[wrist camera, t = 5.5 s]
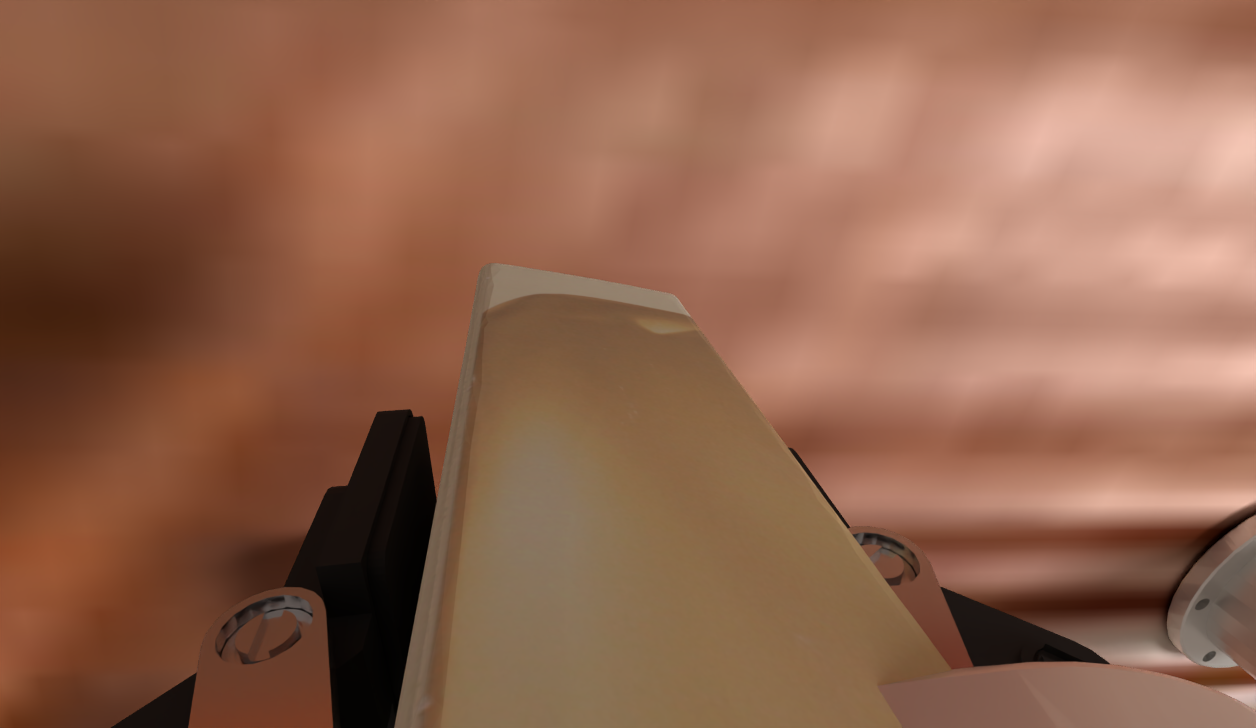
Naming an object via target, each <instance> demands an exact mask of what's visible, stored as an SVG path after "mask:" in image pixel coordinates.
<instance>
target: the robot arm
mask: <svg viewBox="0 0 1256 728" xmlns="http://www.w3.org/2000/svg"><path fill="white" fill-rule="evenodd" d="M788 449H789V450H790V452H791V453H792V454H793V456H794V457H795V458H796V460H797V461H798V462H799V464H800V465H801V467H802V468H803V469H804V471H805V472H806V473H807V475H808V476H809V477H810V479H811V480H812V482H813V483H814V484H815V486H816V487H817V488H818V490H819V491H820V492H821V494H822V495H823V497H824V498H825V499H826V501H827V502H828V503H829V505H830V506H831V507H832V509H833V510H834V511H835V513H836V514H837V515H838V517H839V518H840V519H841V521H842V522H843V523H844V525H845V526H846V527H847V529H848V530H849V531H850V533H851V534H852V535H853V537H854V538H855V539H856V541H857V542H858V543H859V545H860V546H861V547H862V549H863V550H864V552H865V553H866V554H867V556H868V557H869V559H870V560H871V561H872V563H873V564H874V565H875V567H876V568H877V570H878V571H879V572H880V574H881V575H882V576H883V578H884V579H885V580H886V582H887V583H888V585H889V586H890V587H891V589H892V590H893V591H894V593H895V594H896V595H897V597H898V598H899V599H900V601H901V602H902V603H903V605H904V606H905V607H906V609H907V610H908V611H909V612H910V614H911V615H912V616H913V618H914V619H915V620H916V622H917V623H918V624H919V626H920V627H921V628H922V630H923V631H924V632H925V634H926V635H927V637H928V638H929V639H930V641H931V642H932V643H933V645H934V646H935V647H936V649H937V650H938V651H939V653H940V654H941V656H942V657H943V658H944V660H945V661H946V662H947V664H948V665H949V666H950V668H951V669H952V670H950V671H946V672H940V673H936V674H931V675H926V676H921V677H916V678H911V679H907V680H902V681H898V682H893V683H889V684H884V685H879V686H877V687H878V688H879V690H880V692H881V693H882V695H883V696H884V698H885V700H886V701H887V703H888V705H889V706H890V708H891V710H892V711H893V713H894V714H895V716H896V717H897V719H898V720H899V722H900V723H901V725H902V727H903V728H1256V711H1255V710H1254V709H1252V708H1250V707H1249V706H1247V705H1245V704H1244V703H1242V702H1240V701H1238V700H1236V699H1234V698H1232V697H1230V696H1227V695H1225V694H1223V693H1221V692H1219V691H1217V690H1214V689H1211V688H1208V687H1205V686H1202V685H1199V684H1196V683H1194V682H1191V681H1187V680H1184V679H1180V678H1177V677H1173V676H1169V675H1166V674H1161V673H1156V672H1151V671H1146V670H1141V669H1135V668H1130V667H1125V666H1120V665H1110V664H1109V662H1107V661H1106V660H1104V659H1103V658H1102V657H1100V656H1099V655H1097V654H1096V653H1095V652H1093V651H1092V650H1090V649H1088V648H1086V647H1084V646H1082V645H1080V644H1078V643H1076V642H1074V641H1072V640H1070V639H1067V638H1065V637H1062V636H1060V635H1058V634H1055V633H1053V632H1050V631H1048V630H1045V629H1043V628H1040V627H1038V626H1036V625H1033V624H1031V623H1028V622H1026V621H1023V620H1021V619H1018V618H1016V617H1014V616H1011V615H1009V614H1006V613H1004V612H1001V611H999V610H996V609H994V608H991V607H989V606H987V605H984V604H982V603H979V602H977V601H974V600H972V599H969V598H967V597H965V596H962V595H960V594H957V593H955V592H952V591H950V590H947V589H945V588H943V587H940V586H939V583H938V581H937V578H936V576H935V574H934V571H933V569H932V566H931V564H930V562H929V560H928V559H927V557H926V556H925V554H924V552H923V551H922V550H921V549H919V548H918V547H917V546H916V545H915V544H914V543H913V542H911V541H910V540H908V539H906V538H904V537H903V536H901V535H899V534H897V533H894V532H891V531H888V530H886V529H882V528H876V527H870V526H855V527H851V528H850V527H849V525H848V524H847V522H846V521H845V520H844V518H843V517H842V515H841V514H840V513H839V511H838V510H837V508H836V507H835V506H834V504H833V503H832V501H831V500H830V499H829V497H828V496H827V494H826V493H825V492H824V490H823V489H822V487H821V486H820V485H819V483H818V482H817V480H816V479H815V478H814V476H813V475H812V473H811V472H810V471H809V469H808V468H807V466H806V465H805V464H804V462H803V461H802V459H801V458H800V457H799V455H798V454H797V453H796V452H795V451H794V450H793V449H792V448H788ZM436 503H437V499H436V493H435V486H434V479H433V473H432V466H431V460H430V453H429V447H428V440H427V433H426V427H425V421H424V418H423V416H420V417H413V414H412V411H411V410H410V409H409V410H395V411H381V412H377V414H376V416H375V418H374V421H373V423H372V426H371V428H370V431H369V433H368V436H367V438H366V441H365V443H364V446H363V449H362V451H361V454H360V456H359V459H358V461H357V464H356V466H355V469H354V471H353V474H352V476H351V479H350V481H349V484H348V486H337V487H331V488H329V489H328V490H327V492H326V493H325V495H324V498H323V500H322V502H321V504H320V507H319V509H318V511H317V513H316V516H315V518H314V520H313V522H312V525H311V527H310V529H309V531H308V534H307V536H306V538H305V540H304V543H303V545H302V547H301V550H300V552H299V554H298V556H297V559H296V561H295V563H294V565H293V568H292V570H291V572H290V574H289V577H288V579H287V581H286V583H285V586H284V587H283V588H278V589H272V590H267V591H264V592H262V593H259V594H256V595H254V596H251V597H249V598H247V599H245V600H243V601H242V602H240V603H238V604H236V605H235V606H233V607H231V608H230V609H229V610H228V611H226V612H225V613H224V614H223V615H222V616H220V617H219V618H218V619H217V620H216V621H215V623H214V624H213V625H212V626H211V628H210V629H209V630H208V632H207V633H206V635H205V638H204V640H203V643H202V646H201V649H200V656H199V662H198V669H197V673H195V674H194V675H192V676H191V677H189V678H188V679H186V680H184V681H183V682H181V683H180V684H178V685H177V686H175V687H174V688H172V689H170V690H169V691H167V692H166V693H164V694H163V695H161V696H159V697H158V698H156V699H155V700H153V701H152V702H150V703H149V704H147V705H145V706H144V707H142V708H141V709H139V710H138V711H136V712H135V713H133V714H131V715H130V716H128V717H127V718H125V719H124V720H122V721H121V722H119V723H117V724H116V725H114V726H113V727H111V728H394V727H395V721H396V716H397V711H398V705H399V700H400V695H401V689H402V684H403V679H404V673H405V668H406V663H407V657H408V652H409V647H410V641H411V636H412V631H413V625H414V620H415V615H416V609H417V604H418V599H419V593H420V588H421V583H422V577H423V572H424V567H425V561H426V556H427V551H428V545H429V540H430V535H431V529H432V524H433V519H434V513H435V508H436ZM1167 630H1168V636H1169V638H1170V640H1171V642H1172V643H1173V645H1174V646H1175V647H1176V648H1177V649H1178V650H1180V651H1181V652H1182V653H1183V654H1184V655H1185V656H1186V657H1187V658H1189V659H1190V660H1191V661H1193V662H1195V663H1196V664H1199V665H1202V666H1208V667H1214V668H1219V667H1233V666H1238V665H1239V666H1240V667H1241V668H1242V669H1244V670H1245V671H1246V672H1247V673H1248V674H1250V675H1251V676H1252V677H1253V678H1254V679H1256V514H1255V515H1253V516H1252V517H1250V518H1248V519H1246V520H1245V521H1243V522H1242V523H1241V524H1239V525H1238V526H1236V527H1235V528H1234V529H1232V530H1231V531H1229V532H1228V533H1227V534H1225V535H1224V536H1223V537H1222V538H1221V539H1220V540H1219V541H1217V542H1216V543H1215V544H1214V545H1213V546H1212V547H1210V548H1209V549H1208V550H1207V551H1206V553H1205V554H1204V555H1203V556H1202V557H1201V558H1200V559H1199V560H1198V561H1197V562H1196V563H1195V564H1194V565H1193V567H1192V568H1191V569H1190V571H1189V572H1188V574H1187V575H1186V576H1185V578H1184V579H1183V580H1182V582H1181V584H1180V585H1179V587H1178V589H1177V591H1176V593H1175V594H1174V596H1173V599H1172V602H1171V605H1170V607H1169V610H1168V617H1167Z"/></svg>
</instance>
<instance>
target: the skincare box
mask: <svg viewBox="0 0 1256 728" xmlns="http://www.w3.org/2000/svg"><path fill="white" fill-rule="evenodd" d="M950 670H952V669H951V668H950V666H949V665H948V664H947V662H946V661H945V660H944V658H943V657H942V656H941V654H940V653H939V651H938V650H937V649H936V647H935V646H934V645H933V643H932V642H931V641H930V639H929V638H928V637H927V635H926V634H925V632H924V631H923V630H922V628H921V627H920V626H919V624H918V623H917V622H916V620H915V619H914V618H913V616H912V615H911V614H910V612H909V611H908V610H907V609H906V607H905V606H904V605H903V603H902V602H901V601H900V599H899V598H898V597H897V595H896V594H895V593H894V591H893V590H892V589H891V587H890V586H889V585H888V583H887V582H886V580H885V579H884V578H883V576H882V575H881V574H880V572H879V571H878V570H877V568H876V567H875V565H874V564H873V563H872V561H871V560H870V559H869V557H868V556H867V554H866V553H865V552H864V550H863V549H862V547H861V546H860V545H859V543H858V542H857V541H856V539H855V538H854V537H853V535H852V534H851V533H850V531H849V530H848V529H847V527H846V526H845V525H844V523H843V522H842V521H841V519H840V518H839V517H838V515H837V514H836V513H835V511H834V510H833V509H832V507H831V506H830V505H829V503H828V502H827V501H826V499H825V498H824V497H823V495H822V494H821V492H820V491H819V490H818V488H817V487H816V486H815V484H814V483H813V482H812V480H811V479H810V477H809V476H808V475H807V473H806V472H805V471H804V469H803V468H802V467H801V465H800V464H799V462H798V461H797V460H796V458H795V457H794V456H793V454H792V453H791V452H790V450H789V449H788V447H787V446H786V445H785V443H784V442H783V441H782V439H781V438H780V437H779V435H778V434H777V432H776V431H775V430H774V429H773V427H772V426H771V425H770V423H769V422H768V420H767V419H766V418H765V416H764V415H763V414H762V412H761V411H760V409H759V408H758V407H757V405H756V404H755V402H754V401H753V400H752V398H751V397H750V396H749V394H748V393H747V392H746V390H745V389H744V388H743V387H742V385H741V384H740V383H739V382H738V380H737V379H736V378H735V376H734V375H733V373H732V372H731V370H730V369H729V368H728V367H727V366H726V364H725V363H724V361H723V360H722V358H721V357H720V356H719V355H718V353H717V352H716V351H715V349H714V348H713V347H712V345H711V344H710V342H709V341H708V340H707V338H706V337H705V336H704V334H703V333H702V331H701V330H700V329H699V327H698V326H697V325H696V323H695V322H694V320H693V319H692V318H691V316H690V315H689V313H688V312H687V311H686V310H685V308H684V307H683V306H682V304H681V303H680V301H679V300H678V298H677V297H676V296H674V295H672V294H670V293H665V292H660V291H654V290H649V289H644V288H639V287H634V286H629V285H625V284H619V283H613V282H608V281H603V280H598V279H592V278H586V277H580V276H574V275H568V274H562V273H556V272H550V271H544V270H537V269H531V268H525V267H519V266H513V265H505V264H498V263H491V264H487V265H485V266H484V267H483V268H482V269H481V270H480V273H479V276H478V281H477V287H476V292H475V298H474V304H473V309H472V315H471V320H470V326H469V331H468V337H467V342H466V348H465V353H464V358H463V364H462V369H461V374H460V380H459V385H458V391H457V396H456V401H455V407H454V412H453V417H452V423H451V428H450V433H449V439H448V444H447V449H446V455H445V460H444V465H443V471H442V476H441V481H440V487H439V492H438V497H437V503H436V508H435V513H434V519H433V524H432V529H431V535H430V540H429V545H428V551H427V556H426V561H425V567H424V572H423V577H422V583H421V588H420V593H419V599H418V604H417V609H416V615H415V620H414V625H413V631H412V636H411V641H410V647H409V652H408V657H407V663H406V668H405V673H404V679H403V684H402V689H401V695H400V700H399V705H398V711H397V716H396V721H395V727H394V728H903V727H902V725H901V723H900V722H899V720H898V719H897V717H896V716H895V714H894V713H893V711H892V710H891V708H890V706H889V705H888V703H887V701H886V700H885V698H884V696H883V695H882V693H881V692H880V690H879V688H878V687H877V686H879V685H884V684H889V683H893V682H898V681H902V680H907V679H911V678H916V677H921V676H926V675H931V674H936V673H940V672H946V671H950Z"/></svg>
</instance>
